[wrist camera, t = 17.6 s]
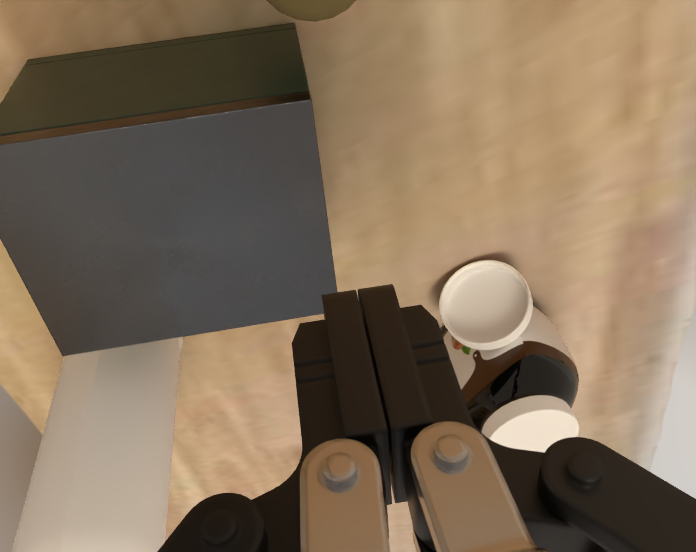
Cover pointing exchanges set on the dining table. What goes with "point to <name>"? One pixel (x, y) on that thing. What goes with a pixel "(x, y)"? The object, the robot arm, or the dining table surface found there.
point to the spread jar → (508, 358)
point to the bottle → (105, 453)
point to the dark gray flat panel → (169, 222)
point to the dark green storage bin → (154, 78)
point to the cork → (311, 8)
